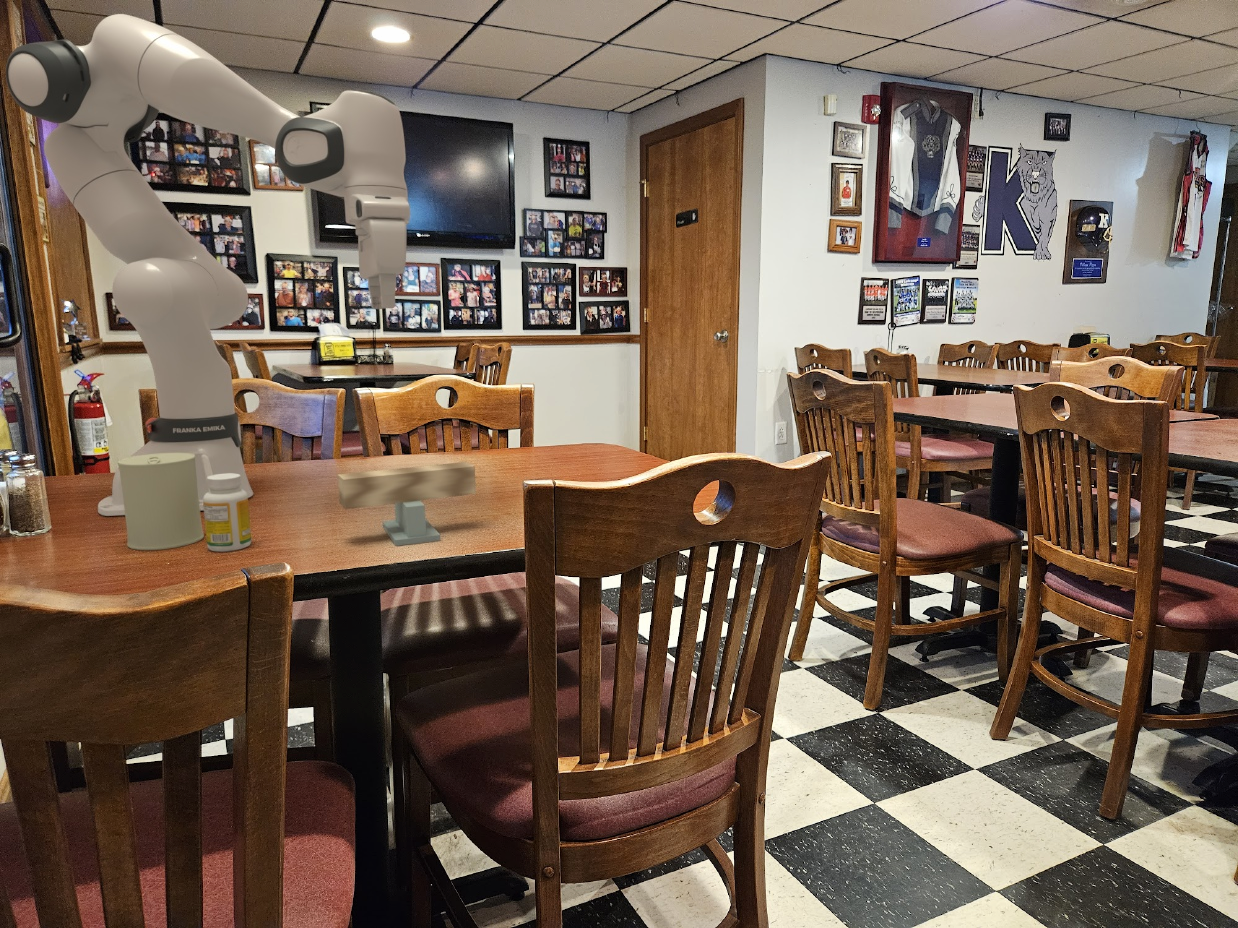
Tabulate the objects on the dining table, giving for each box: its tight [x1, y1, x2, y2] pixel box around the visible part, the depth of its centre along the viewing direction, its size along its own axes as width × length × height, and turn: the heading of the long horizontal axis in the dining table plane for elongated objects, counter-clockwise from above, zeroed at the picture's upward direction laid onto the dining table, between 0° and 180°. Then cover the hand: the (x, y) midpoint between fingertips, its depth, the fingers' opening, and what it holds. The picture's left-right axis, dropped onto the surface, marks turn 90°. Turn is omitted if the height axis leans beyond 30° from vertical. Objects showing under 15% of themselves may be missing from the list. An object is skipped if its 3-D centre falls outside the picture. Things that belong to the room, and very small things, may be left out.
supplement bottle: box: [203, 473, 252, 553], centre depth 107 cm, size 5×5×10 cm
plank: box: [337, 461, 477, 510], centre depth 112 cm, size 18×4×4 cm, turn 120°
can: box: [117, 453, 205, 551], centre depth 110 cm, size 9×9×12 cm
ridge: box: [382, 500, 441, 547], centre depth 113 cm, size 6×11×5 cm, turn 25°
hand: (383, 308), depth 119 cm, fingers open, 8 cm apart
